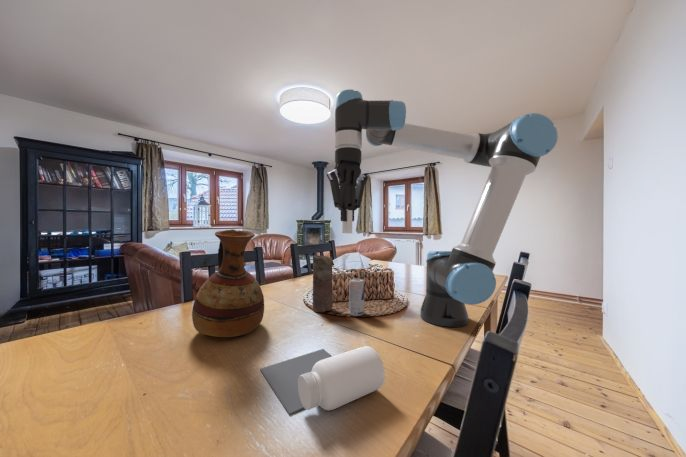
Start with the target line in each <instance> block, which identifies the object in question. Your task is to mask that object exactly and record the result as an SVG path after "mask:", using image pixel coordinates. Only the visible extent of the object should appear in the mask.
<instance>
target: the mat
mask: <svg viewBox="0 0 686 457" xmlns="http://www.w3.org/2000/svg"><path fill="white" fill-rule="evenodd" d="M332 356H333V355H332V354H330V353H329V352H328V351H326V350H325V349H324V348H322V349H318V350H316V351H312V352H309V353H305V354H302V355H299V356H296V357H294V358H293V357H292V358H289V359H286V360H283V361H280V362H277V363H275V364H274V363H273V364H270V365H267V366H264V367H262V368H261V367H260V369H259V370H260V372H261V374H262V375H263V377H264V378H265V380H266V381H267V383H268V385H269V386H270V388H271V389H272V390H273V392H274V394H275V395H276V397H277V399H278V401H280V403H281V405H282V406H283V408H284V409H285V411H286V413H287V414H288V415H289V416H291V415H293V414H295V413H297V412H300V411H302V410H305V408H304V407H303V405H302V403H301V400H300V397H299V392H298V379H299V377H300V375H302V374H305V373H309V372H311V371H312V368H313V366H314V365H315V364H316V363H317V362H318V361H320V360H323V359H326V358H329V357H332Z"/></svg>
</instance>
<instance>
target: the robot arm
mask: <svg viewBox="0 0 686 457" xmlns="http://www.w3.org/2000/svg"><path fill="white" fill-rule="evenodd" d="M334 115H335V117H334V121H335V122H334V125H335V126H334V127H335V128H334V130H335V131H334V138H335V139H334V148H335V151H334V162H335V166H334V168H333V170H332V171H329V172H327V173H326V177H327V178H328V181H329V183H330V185H329V186H330V189H331V194H332V200H333V205H334V207H335V208H337V209H338V210H339V211H340V221H341V222H342V234H353V222H354V221H355V211H356V210H357V209H360V208H361V204H362V200H363V194H364V191H365V185H366V183H367V181H368V179H369V178H368V176H367V175H364V174H363V173H362V169H361V164H362V150H361V149H363V148H362V147H363V146H362V145H363V143H362V141H363V140H362V138H363V137H362V135H363V130H365V138H366V141H367V142H368V143H369V144H370V145H371V146H373V147H380V146H382V145H386V146H387V145H388V146H392V147H398V148H404V149H408V150H413V151H420V152H426V153H430V154H434V155H435V154H436V155H441V156H447V157H452V158H457V159H463V161H464V163H466V164H473V165H478V166H481V167H482V166H483V167H488V168H491V170H490V171H489V175H488V177H487V180H486V182H485V184H484V186H483V189H482V192H481V193H480V197H479V199H478V201H477V203H476V206H475V207H474V211H473V213H472V216H471V218H470V221H469V223H468V225H467V228H466V230H465V232H464V235H463V237H462V240H461V243H459V244H458V245H455V246H453V248H451V250H444V251H443V250H440V251H438V250H431V251H429V252H427V255H426V260H425V262H426V278H425V279H426V280H425V281H426V282H425V283H426V286H425V287H426V288H425V289H426V290H425V291H426V292H425V296H424V300H423V302H422V305H421V307H420V315H419V316H420V318H421V319H422V320H424V321H425V322H426V323H429V324H433V325H436V326H440V327H445V328H446V327H447V328H458V327H464V326H467V325H468V324H469V314H468V310H467V307H466V305H471V306H472V305H478V304H481V303H484V302H486V301H487V300H488V299H490V298H491V296H492V295H493V294H494V293H495V290H496V286H497V279H496V277H495V273H494V269H495V267H496V264H497V262H496V261H495V259H494V256H493V254H494V253H495V250H496V247H497V245H498V243H499V241H500V238H501V236H502V233H503V231H504V228H505V227H506V224H507V221H508V219H509V216H510V213H511V212H512V209H513V207H514V205H515V202H516V200H517V197H518V195H519V193H520V190H521V188H522V185H523V184H524V180H525V178H526V177H527V175H530V174H532V173H534V172H535V171H536V169H537V166H538V164H539V161H540V160H541V157H544V156H545V155H548V154H549V153H550V152H551V151H553V149H555V147H556V145H557V142H558V138H559V136H558V130H557V127H556V126H555V124H554V122H553V121H552V120H551V119H550V118H549V117H547V115H544V114H542V113H538V112H537V113H536V112H531V113H530V112H529V113H528V114H524V115H522V116H518V117H517V118H515V119H514V120H512V121H511V122H510V123H508V124H506V125H504V126H502V127H500V128H499V129H498V130H495V131H493V132H489V133H481V132H474V133H472V134H467V133H466V134H465V133H461V132H456V131H455V132H454V131H449V130H444V129H439V128H432V127H427V126H422V125H418V124H417V125H416V124H411V123H405V122H406V118H407V105H406V103H405V102H404V101H402V100H399V101H398V100H393V99H392V100H365V99H364V98H363V94H362V93H361V92H360V91H358V90H354V89H343V90H341V91H340V92H338V94H336V97H335V109H334Z"/></svg>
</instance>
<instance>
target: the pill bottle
mask: <svg viewBox="0 0 686 457" xmlns="http://www.w3.org/2000/svg"><path fill="white" fill-rule="evenodd" d="M331 356H332V357H329V358H326V359H323V360H320V361H318V362H317V363H316V364H315V365H314V366H313V368H312V371H311V372H309V373H305V374H302V375H300V377H299V379H298V392H299V397H300V400H301V403H302V405H303V407H304V410H307V411H309V410H312V409H314V408H316V407H317V408H318V407H319V406H320V408H321V409H323V410H324V411H333V410H335V409H338V408H340V407H342V406H345V405H346V404H350V402H353V401H355V400H358V399H360V398H362V397H364V396H367V395H369V394H371V393H373V392H376V391H378V390H379V389H381V388H382V386H383V385H384V382H385V378H386V377H385V376H386V375H385V374H386V373H385V367H384V364H383V362H382V359H381V356H380V355H379V354H378V352H377V351H376V350H375V349H374V348H373V347H371V346H368V345H367V346H366V345H365V346H360V347H358V348H355V349H351V350H348V351H344V352H341V353H338V354H336V355H331Z"/></svg>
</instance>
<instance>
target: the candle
mask: <svg viewBox="0 0 686 457" xmlns="http://www.w3.org/2000/svg"><path fill="white" fill-rule="evenodd" d="M333 302H334V301H333V257H332V256H328V255H317V254H315V255H312V310H313V312H315V313H325V312H327V311H331V310H332V309H333Z"/></svg>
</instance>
